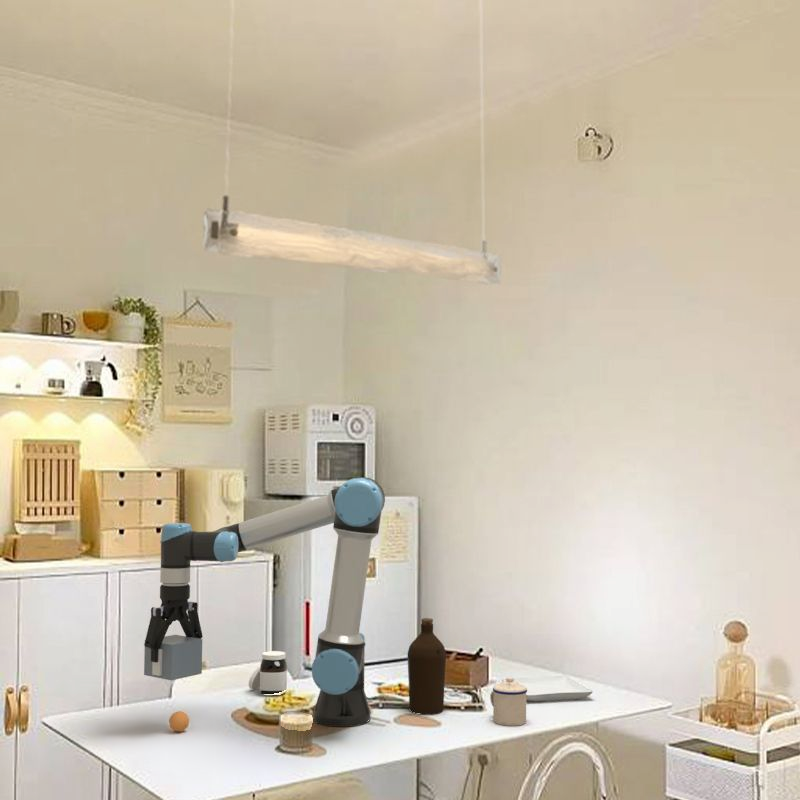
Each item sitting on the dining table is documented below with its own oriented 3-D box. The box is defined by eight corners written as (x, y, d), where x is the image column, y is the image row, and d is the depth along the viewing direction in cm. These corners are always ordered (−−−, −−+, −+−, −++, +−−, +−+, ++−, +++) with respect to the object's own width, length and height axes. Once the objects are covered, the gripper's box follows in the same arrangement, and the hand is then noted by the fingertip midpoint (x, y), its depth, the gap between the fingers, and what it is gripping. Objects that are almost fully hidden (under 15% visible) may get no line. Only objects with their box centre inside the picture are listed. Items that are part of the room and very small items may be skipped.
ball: (176, 713, 274) (182, 732, 272) (162, 717, 269) (168, 736, 268) (189, 706, 271) (195, 725, 270) (175, 710, 267) (181, 729, 266)
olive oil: (450, 708, 296) (451, 617, 297) (438, 717, 286) (438, 623, 287) (415, 704, 300) (415, 615, 301) (401, 713, 290) (402, 620, 291)
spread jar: (284, 697, 307) (284, 656, 307) (245, 697, 307) (245, 656, 308) (289, 688, 319) (289, 648, 319) (251, 687, 319) (252, 648, 320)
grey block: (201, 673, 273) (202, 639, 274) (171, 680, 265) (172, 644, 265) (174, 668, 279) (175, 634, 280) (144, 675, 271) (144, 640, 271)
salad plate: (525, 706, 301) (525, 693, 302) (500, 689, 322) (500, 677, 322) (594, 702, 306) (594, 690, 306) (566, 686, 327) (566, 674, 327)
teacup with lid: (534, 723, 281) (534, 678, 281) (508, 728, 276) (508, 682, 276) (503, 713, 291) (504, 670, 291) (478, 718, 285) (478, 674, 286)
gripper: (197, 578, 284) (196, 662, 283) (130, 587, 266) (128, 676, 265) (217, 580, 280) (216, 665, 279) (150, 589, 262) (148, 681, 261)
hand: (173, 671), depth 272 cm, fingers closed on grey block, 10 cm apart
